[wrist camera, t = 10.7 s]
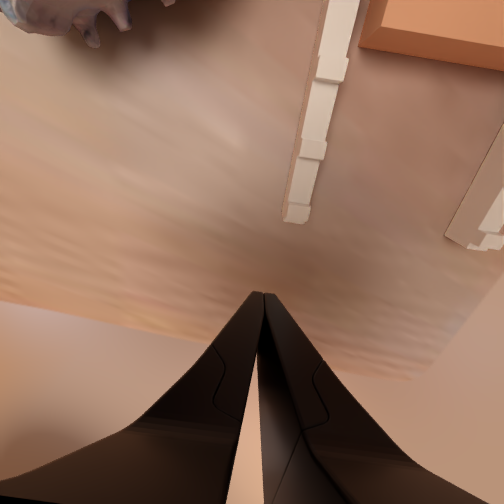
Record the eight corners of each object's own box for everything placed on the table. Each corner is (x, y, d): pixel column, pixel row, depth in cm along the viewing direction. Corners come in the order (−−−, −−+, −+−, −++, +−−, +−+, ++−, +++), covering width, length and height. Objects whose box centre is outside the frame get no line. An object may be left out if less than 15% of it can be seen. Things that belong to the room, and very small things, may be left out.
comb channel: (734, -238, 10) (1338, -710, 5) (462, 237, 20) (542, 281, 14) (382, -306, 10) (546, -907, 4) (280, 211, 20) (287, 244, 14)
